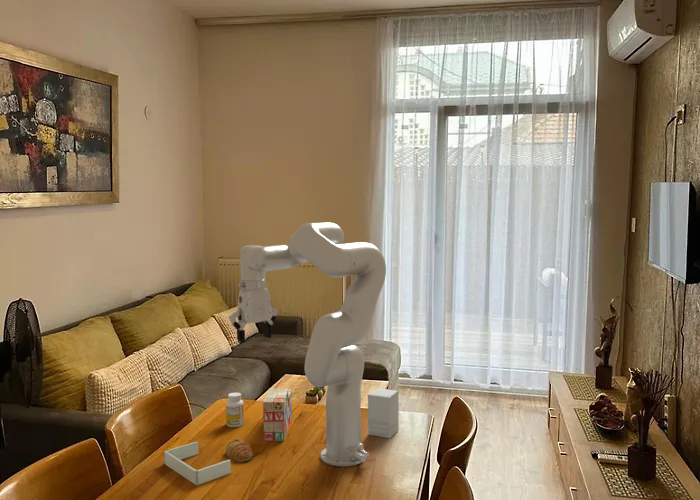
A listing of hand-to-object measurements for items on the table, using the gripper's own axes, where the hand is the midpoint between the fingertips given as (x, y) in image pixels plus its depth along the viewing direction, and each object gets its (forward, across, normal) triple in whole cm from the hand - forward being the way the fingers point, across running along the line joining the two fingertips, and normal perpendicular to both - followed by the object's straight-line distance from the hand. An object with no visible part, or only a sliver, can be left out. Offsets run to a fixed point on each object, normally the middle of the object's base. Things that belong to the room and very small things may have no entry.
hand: (254, 339), depth 197 cm
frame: (+27, -30, -16) cm, 43 cm away
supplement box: (+28, +25, -32) cm, 49 cm away
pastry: (+28, -16, -16) cm, 36 cm away
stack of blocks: (+28, +3, -7) cm, 29 cm away
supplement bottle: (+27, -5, +5) cm, 28 cm away
